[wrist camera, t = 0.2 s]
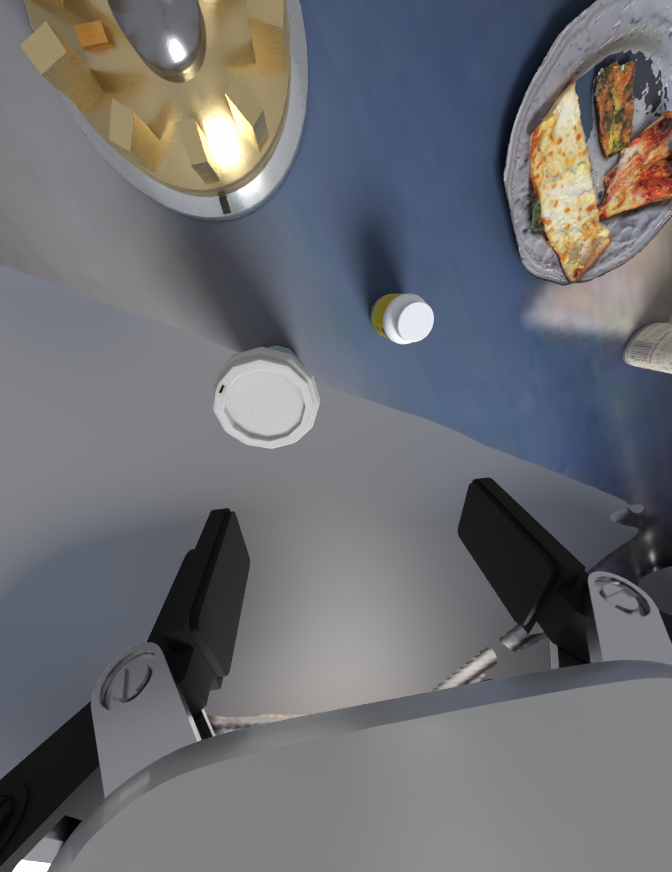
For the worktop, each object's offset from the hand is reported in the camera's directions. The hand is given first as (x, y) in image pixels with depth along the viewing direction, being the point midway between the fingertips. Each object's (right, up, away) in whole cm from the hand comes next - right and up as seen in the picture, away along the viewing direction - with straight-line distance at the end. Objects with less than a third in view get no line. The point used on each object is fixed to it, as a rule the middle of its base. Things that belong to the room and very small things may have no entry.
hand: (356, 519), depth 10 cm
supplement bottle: (+7, +20, +26) cm, 33 cm away
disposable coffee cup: (-9, +13, +27) cm, 32 cm away
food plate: (+30, +36, +21) cm, 51 cm away
